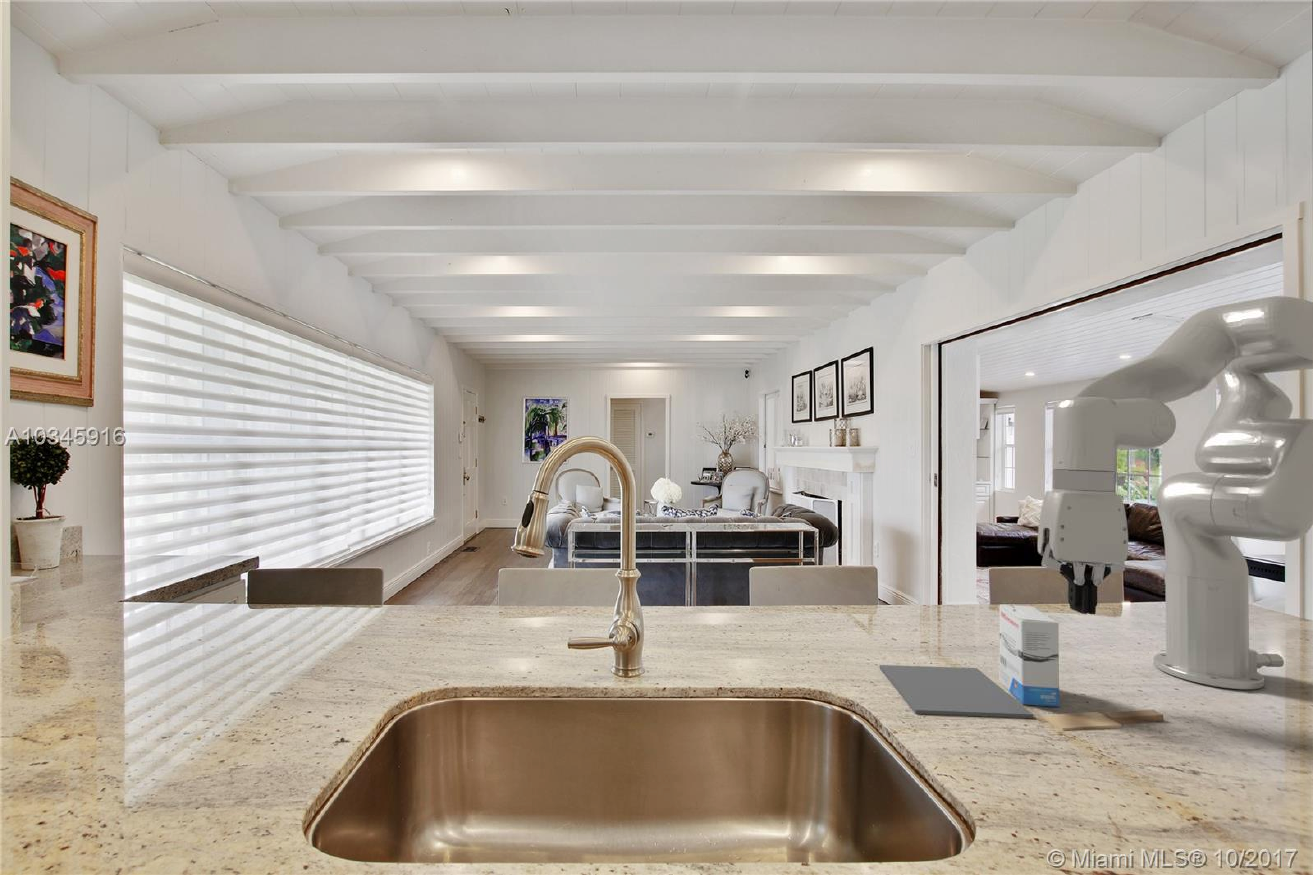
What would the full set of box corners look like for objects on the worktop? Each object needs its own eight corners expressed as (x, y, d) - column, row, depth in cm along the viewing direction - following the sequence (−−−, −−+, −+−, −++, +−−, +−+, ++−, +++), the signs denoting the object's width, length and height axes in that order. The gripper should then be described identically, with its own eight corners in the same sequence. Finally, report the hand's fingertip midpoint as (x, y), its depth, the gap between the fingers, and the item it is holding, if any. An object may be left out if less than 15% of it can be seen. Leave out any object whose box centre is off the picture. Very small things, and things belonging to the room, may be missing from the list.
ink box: (1060, 708, 80) (1060, 621, 80) (1021, 705, 81) (1020, 619, 81) (1033, 683, 88) (1033, 605, 88) (998, 680, 89) (997, 603, 89)
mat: (976, 671, 93) (976, 668, 93) (1033, 718, 77) (1033, 714, 77) (879, 668, 94) (879, 665, 94) (915, 713, 78) (915, 709, 78)
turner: (1145, 712, 78) (1145, 706, 78) (1171, 724, 75) (1171, 718, 75) (1041, 718, 77) (1041, 712, 77) (1062, 731, 73) (1062, 725, 74)
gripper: (1120, 483, 87) (1119, 607, 87) (1015, 480, 88) (1013, 602, 88) (1159, 486, 80) (1158, 621, 79) (1044, 483, 81) (1042, 616, 81)
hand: (1082, 611), depth 84 cm, fingers closed
